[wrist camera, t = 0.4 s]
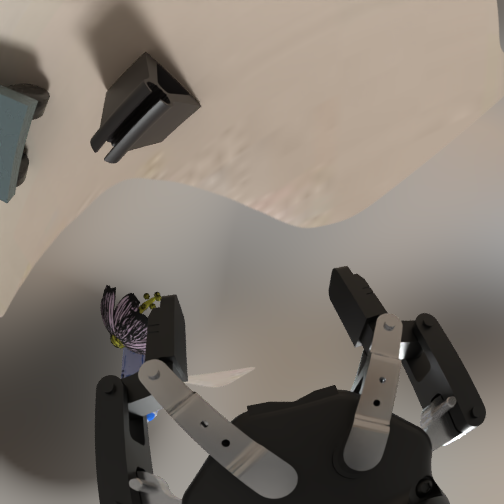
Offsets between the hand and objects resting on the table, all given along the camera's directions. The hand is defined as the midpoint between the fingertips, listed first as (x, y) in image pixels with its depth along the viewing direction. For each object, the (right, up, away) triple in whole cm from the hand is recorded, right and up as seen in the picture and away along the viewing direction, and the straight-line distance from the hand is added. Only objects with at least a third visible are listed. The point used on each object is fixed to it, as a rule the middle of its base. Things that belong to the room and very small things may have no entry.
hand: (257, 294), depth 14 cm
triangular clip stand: (-11, +19, +11) cm, 24 cm away
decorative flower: (-21, -6, +31) cm, 38 cm away
